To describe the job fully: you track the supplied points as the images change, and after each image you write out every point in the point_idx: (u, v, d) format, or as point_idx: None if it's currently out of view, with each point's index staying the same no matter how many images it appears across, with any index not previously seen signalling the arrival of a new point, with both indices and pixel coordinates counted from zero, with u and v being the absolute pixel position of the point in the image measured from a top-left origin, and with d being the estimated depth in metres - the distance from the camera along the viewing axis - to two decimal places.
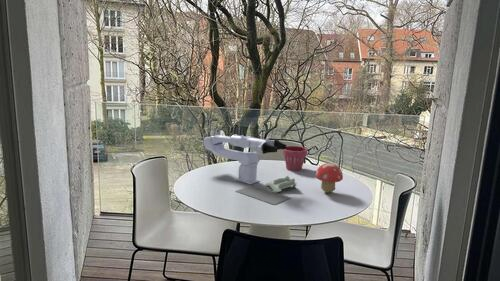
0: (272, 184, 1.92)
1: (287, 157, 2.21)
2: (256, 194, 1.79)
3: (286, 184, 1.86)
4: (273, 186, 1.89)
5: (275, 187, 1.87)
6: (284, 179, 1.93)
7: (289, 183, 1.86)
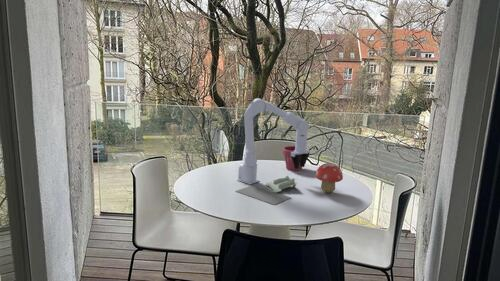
0: (272, 184, 1.92)
1: (287, 157, 2.21)
2: (256, 194, 1.79)
3: (286, 184, 1.86)
4: (273, 186, 1.89)
5: (275, 187, 1.87)
6: (284, 179, 1.93)
7: (289, 183, 1.86)
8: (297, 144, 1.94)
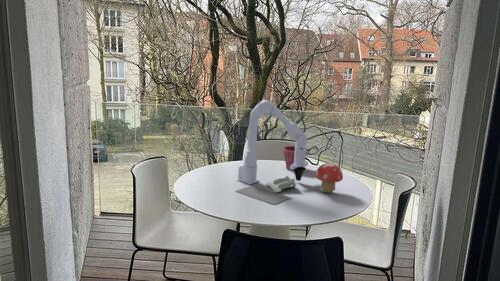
0: (272, 184, 1.92)
1: (287, 157, 2.21)
2: (256, 194, 1.79)
3: (286, 184, 1.86)
4: (273, 186, 1.89)
5: (275, 187, 1.87)
6: (284, 179, 1.93)
7: (289, 183, 1.86)
8: (296, 157, 1.96)
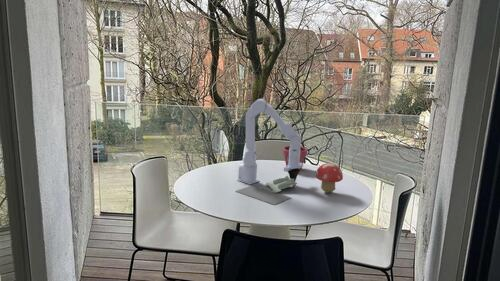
0: (272, 184, 1.92)
1: (287, 157, 2.21)
2: (256, 194, 1.79)
3: (286, 184, 1.86)
4: (273, 186, 1.89)
5: (275, 187, 1.87)
6: (284, 179, 1.93)
7: (289, 183, 1.86)
8: (290, 159, 1.92)
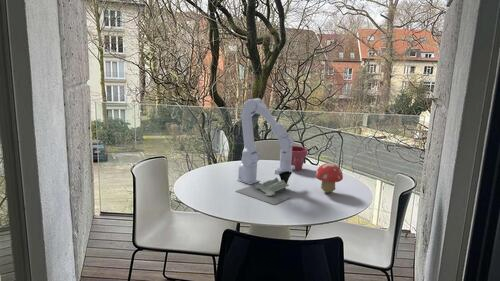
0: (262, 187, 1.86)
1: None
2: (256, 194, 1.79)
3: (278, 186, 1.82)
4: (264, 189, 1.84)
5: (267, 190, 1.82)
6: (273, 181, 1.89)
7: (281, 185, 1.83)
8: (281, 161, 1.86)
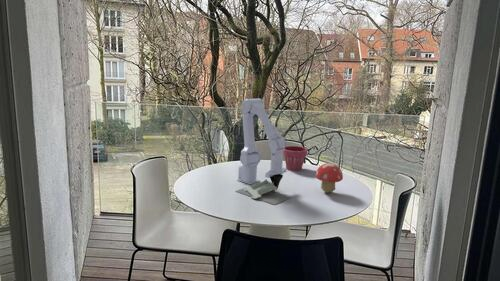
0: (250, 189, 1.83)
1: (287, 157, 2.21)
2: None
3: (265, 189, 1.78)
4: (252, 191, 1.80)
5: (254, 192, 1.78)
6: (263, 183, 1.85)
7: (268, 188, 1.78)
8: (272, 164, 1.81)
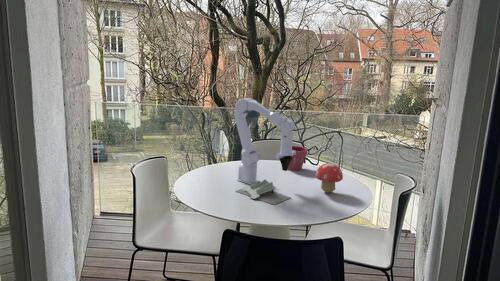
0: (249, 189, 1.83)
1: None
2: None
3: (264, 189, 1.78)
4: (251, 191, 1.80)
5: (253, 192, 1.78)
6: (262, 183, 1.85)
7: (267, 188, 1.78)
8: (282, 146, 1.85)
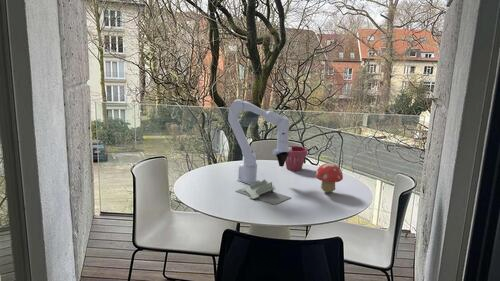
0: (249, 189, 1.83)
1: (287, 157, 2.21)
2: None
3: (264, 189, 1.78)
4: (250, 191, 1.80)
5: (252, 192, 1.78)
6: (261, 183, 1.85)
7: (267, 187, 1.78)
8: (279, 142, 1.92)
